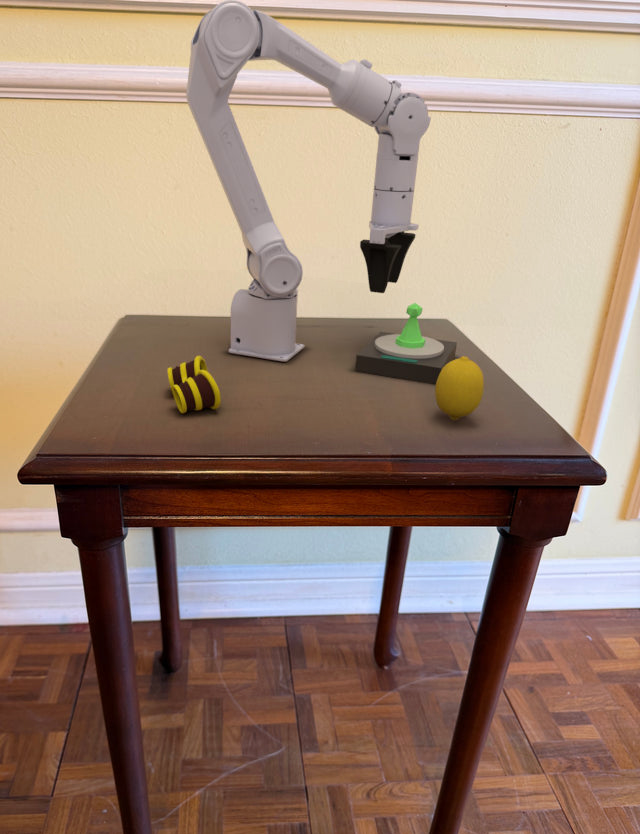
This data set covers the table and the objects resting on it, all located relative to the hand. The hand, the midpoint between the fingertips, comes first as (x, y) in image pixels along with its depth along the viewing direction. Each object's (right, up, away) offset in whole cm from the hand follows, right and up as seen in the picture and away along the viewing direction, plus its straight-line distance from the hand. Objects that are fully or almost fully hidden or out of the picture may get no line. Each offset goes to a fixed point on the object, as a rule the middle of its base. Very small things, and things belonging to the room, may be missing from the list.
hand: (383, 286), depth 103 cm
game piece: (+3, -9, -3) cm, 11 cm away
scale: (+3, -12, -3) cm, 13 cm away
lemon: (+5, -22, -20) cm, 30 cm away
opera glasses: (-27, -20, -18) cm, 37 cm away
